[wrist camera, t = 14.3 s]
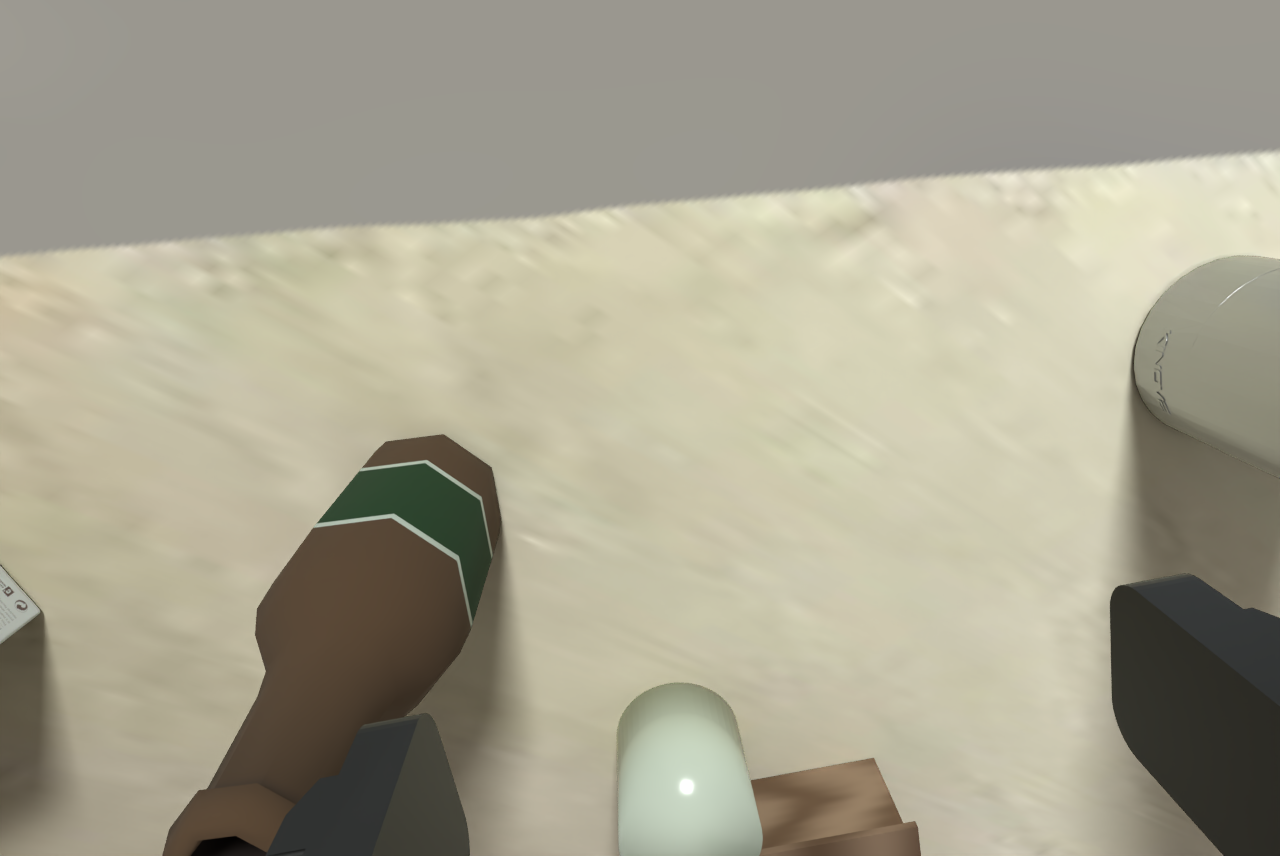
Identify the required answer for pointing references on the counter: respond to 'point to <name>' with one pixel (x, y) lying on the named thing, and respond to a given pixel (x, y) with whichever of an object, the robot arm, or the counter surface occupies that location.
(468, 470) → the beer bottle
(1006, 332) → the counter surface
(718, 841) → the pale green capsule
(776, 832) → the podium
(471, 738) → the counter surface
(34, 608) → the skincare box
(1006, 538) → the counter surface
